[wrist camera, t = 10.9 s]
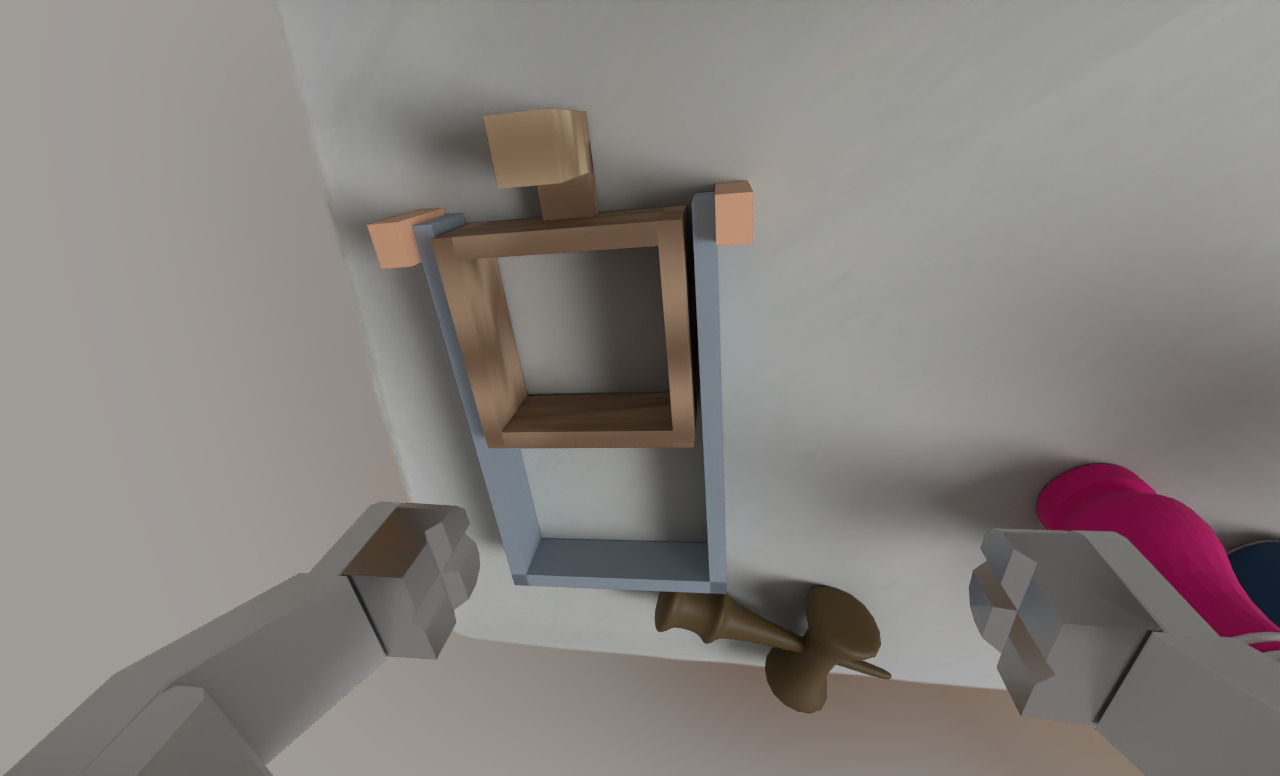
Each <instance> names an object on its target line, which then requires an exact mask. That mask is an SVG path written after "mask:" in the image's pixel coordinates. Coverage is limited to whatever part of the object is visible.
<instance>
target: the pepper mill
mask: <svg viewBox="0 0 1280 776" xmlns="http://www.w3.org/2000/svg"><path fill="white" fill-rule="evenodd" d="M1037 514H1038V517H1039V519H1040V521H1041V523H1042V524H1043V525H1044V526H1045V528H1046V529H1047V530H1060V531H1072V530H1074V531H1111V532H1116V533H1118V534H1120V535H1122V536H1124V537H1125V538H1127V539H1128V540H1129V541H1130V542H1131V543H1132V544H1133V545H1134V546H1135V547H1136V548H1137V550H1138V551H1139V552H1140V553H1141V554H1142V555H1143V556H1144V557H1145V558H1146V559H1147V560H1148V561H1149V562H1150V563H1151V564H1152V565H1153V566H1154V567H1155V569H1156V570H1157V571H1158V572H1159V573H1160V574H1161V575H1162V576H1163V577H1164V578H1165V579H1166V580H1167V581H1168V582H1169V583H1170V584H1171V585H1172V586H1173V588H1174V589H1175V590H1176V591H1177V592H1178V593H1179V594H1180V595H1181V596H1182V597H1183V598H1184V599H1185V600H1186V601H1187V602H1188V603H1189V604H1190V606H1191V607H1192V608H1193V609H1194V610H1195V611H1196V612H1197V613H1198V614H1199V615H1200V616H1201V617H1202V618H1203V619H1204V620H1205V621H1206V622H1207V623H1208V625H1209V626H1210V627H1211V628H1212V629H1213V630H1214V631H1215V632H1216V633H1217V634H1218V635H1219V636H1220V637H1229V638H1236V639H1238V640H1240V641H1242V642H1244V643H1245V644H1247V645H1249V646H1251V647H1253V648H1254V649H1256V650H1258V651H1260V652H1261V653H1263V654H1265V655H1267V656H1269V657H1270V658H1272V659H1274V660H1276V661H1278V662H1279V663H1280V628H1279V627H1278V626H1276V625H1275V624H1274V623H1273V622H1271V621H1270V620H1269V619H1268V618H1267V617H1266V616H1265V614H1264V613H1263V612H1262V611H1261V610H1260V609H1259V608H1258V607H1257V606H1256V605H1255V604H1254V603H1253V602H1252V601H1251V599H1250V598H1249V596H1248V595H1247V594H1246V592H1245V591H1244V589H1243V588H1242V586H1241V585H1240V584H1239V582H1238V580H1237V578H1236V576H1235V574H1234V572H1233V569H1232V567H1231V564H1230V562H1229V559H1228V557H1227V554H1226V551H1225V549H1224V547H1223V545H1222V544H1221V542H1220V541H1219V539H1218V538H1217V536H1216V535H1215V533H1214V532H1213V530H1212V529H1211V527H1210V526H1209V525H1208V524H1207V523H1206V522H1205V521H1204V520H1202V519H1201V518H1200V517H1199V516H1198V515H1197V514H1196V513H1195V512H1194V511H1193V510H1192V509H1191V508H1189V507H1188V506H1186V505H1184V504H1183V503H1181V502H1179V501H1177V500H1175V499H1172V498H1169V497H1166V496H1162V495H1157V494H1156V492H1155V491H1154V490H1153V489H1152V488H1151V487H1150V486H1149V485H1147V484H1146V483H1145V482H1144V481H1143V480H1142V479H1140V478H1139V477H1138V476H1137V475H1136V474H1134V473H1133V472H1131V471H1130V470H1128V469H1126V468H1123V467H1120V466H1117V465H1109V464H1093V465H1087V466H1082V467H1078V468H1075V469H1072V470H1070V471H1068V472H1066V473H1064V474H1062V475H1059V476H1058V477H1057V478H1055V479H1054V480H1053V481H1052V482H1050V483H1049V484H1048V485H1047V486H1046V488H1045V489H1044V490H1043V491H1042V492H1041V494H1040V497H1039V499H1038V502H1037Z"/></svg>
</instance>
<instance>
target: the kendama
mask: <svg viewBox="0 0 1280 776" xmlns="http://www.w3.org/2000/svg"><path fill="white" fill-rule="evenodd" d="M806 617H807V621H808V626H809V627H808V629H807V631H806V632H805V634H804V635H803V636H800V635H797V634H795V633H793V632H791V631H788V630H786V629H784V628H782V627H780V626H778V625H776V624H774V623H772V622H770V621H768V620H766V619H764V618H762V617H760V616H758V615H756V614H755V613H753V612H751V611H749V610H747V609H746V608H744V607H742V606H741V605H739V604H738V603H736V602H735V601H733V600H732V599H731V598H730V597H729V596H728V595H727V594H714V593H690V592H667V591H660V593H659V597H658V601H657V605H656V609H655V626H656V629H657V631H659V632H663V631H667V630H669V629H671V628H674V627H675V628H682V629H686V630H690V631H692V632H694V633H696V634H698V635H699V636H700V637H701V639H702V640H703V642H704V643H706V644H708V643H712V642H713V641H715V640H717V639H735V640H742V641H747V642H753V643H758V644H763V645H768V646H772V647H774V648H772V649H771V651H770V652H769V654H768V655H767V657H766V664H765V672H766V677H767V682H768V684H769V686H770V688H771V689H772V692H773V693H774V695H775V696H776V697H777V698H778V699H779V700H780V701H781V702H783V703H784V704H785V705H786V706H788V707H790V708H792V709H794V710H796V711H798V712H804V713H813V712H816V711H819V710H821V709H822V707H823V705H824V704H825V702H826V699H827V680H826V676H827V674H828V673H829V671H830V670H831V669H832V668H833V667H834V666H835V665H839V666H843V667H846V668H849V669H852V670H855V671H858V672H861V673H865V674H868V675H871V676H875V677H878V678H883V679H890V678H891V674H890V673H889V672H887V671H886V670H884V669H882V668H879V667H877V666H875V665H872V664H870V663H867V662H865V661H862V660H865V659H869V658H872V657H875V656H876V654H877V652H878V650H879V648H880V646H881V640H880V631H879V629H878V627H877V624H876V622H875V620H874V618H873V616H872V615H871V614H870V612H869V611H868V610H867V608H866V607H865V606H864V605H863V604H862V603H861V602H860V601H858V600H857V599H856V598H854V597H853V596H852V595H850V594H848V593H846V592H844V591H842V590H839V589H836V588H832V587H828V586H824V585H823V586H817V587H813V588H812V589H811V591H810V592H809V594H808V595H807V596H806Z"/></svg>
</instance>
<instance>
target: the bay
mask: <svg viewBox="0 0 1280 776" xmlns="http://www.w3.org/2000/svg"><path fill="white" fill-rule="evenodd" d="M691 204H692V225H693V245H694V266H695V286H696V307H697V327H698V348H699V369H700V389H701V410H702V430H703V451H704V471H705V492H706V513H707V533H708V543H694V542H656V541H617V540H578V539H542V538H541V534H540V530H539V526H538V522H537V518H536V514H535V509H534V505H533V501H532V497H531V493H530V489H529V485H528V480H527V476H526V472H525V468H524V464H523V460H522V456H521V451H520V448H488V446H487V442H486V439H485V435H484V431H483V428H482V424H481V421H480V417H479V413H478V410H477V406H476V402H475V399H474V395H473V391H472V388H471V384H470V381H469V377H468V373H467V370H466V366H465V362H464V359H463V355H462V351H461V348H460V344H459V341H458V337H457V333H456V330H455V326H454V322H453V319H452V315H451V311H450V308H449V304H448V300H447V297H446V293H445V290H444V286H443V282H442V279H441V275H440V271H439V268H438V264H437V260H436V257H435V253H434V250H433V246H432V242H431V239H432V238H435V237H437V236H440V235H442V234H445V233H447V232H450V231H452V230H455V229H457V228H460V227H462V226H465V225H466V224H465V220H464V215H463V213H460V214H449V215H445V212H444V208H439V209H428V210H417V211H414V212H410V213H407V214H403V215H400V216H396V217H393V218H389V219H386V220H382V221H379V222H375V223H372V224H368V225H367V227H368V230H369V233H370V236H371V239H372V242H373V245H374V248H375V251H376V254H377V257H378V260H379V263H380V266H381V269H389V268H403V267H412V266H414V265H416V264H418V263H420V262H422V265H423V268H424V272H425V275H426V279H427V282H428V286H429V289H430V292H431V296H432V299H433V303H434V306H435V310H436V313H437V317H438V320H439V324H440V327H441V331H442V334H443V338H444V341H445V345H446V348H447V351H448V355H449V358H450V362H451V365H452V369H453V372H454V376H455V379H456V383H457V386H458V390H459V393H460V397H461V400H462V404H463V407H464V410H465V414H466V417H467V421H468V424H469V428H470V431H471V435H472V438H473V442H474V445H475V449H476V452H477V456H478V459H479V463H480V466H481V469H482V473H483V476H484V480H485V483H486V487H487V490H488V494H489V497H490V501H491V504H492V508H493V511H494V515H495V518H496V522H497V525H498V528H499V532H500V535H501V539H502V542H503V546H504V549H505V553H506V556H507V560H508V563H509V567H510V570H511V574H512V577H513V581H514V584H515V585H524V586H548V587H572V588H595V589H619V590H643V591H667V592H690V593H714V594H727V590H726V541H725V505H724V470H723V434H722V398H721V363H720V327H719V292H718V256H717V246H720V245H734V244H749V243H753V190H752V188H751V186H750V184H749V182H748V181H741V182H730V183H719V184H715V191H713V192H702V193H695V194H694V196H693V199H692V202H691Z"/></svg>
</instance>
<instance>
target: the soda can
mask: <svg viewBox="0 0 1280 776" xmlns="http://www.w3.org/2000/svg"><path fill="white" fill-rule="evenodd" d="M1226 554H1227V557H1228V559H1229V562H1230V564H1231V567H1232V569H1233V572H1234V574H1235V576H1236V578H1237V580H1238V582H1239V584H1240V585H1241V586H1242V588H1243V589H1244V591H1245V592H1246V594H1247V595H1248V596H1249V598H1250V599H1251V601H1252V602H1253V603H1254V604H1255V605H1256V606H1257V607H1258V608H1259V609H1260V610H1261V611H1262V612H1263V613H1264V614H1265V616H1266V617H1267V618H1268V619H1269V620H1270V621H1271V622H1273V623H1274V624H1275V625H1276V626H1278V627H1279V628H1280V540H1261V541H1255V542H1250V543H1247V544H1243V545H1240V546H1238V547H1235V548H1233V549H1231V550H1229V551H1227V552H1226Z"/></svg>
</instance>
